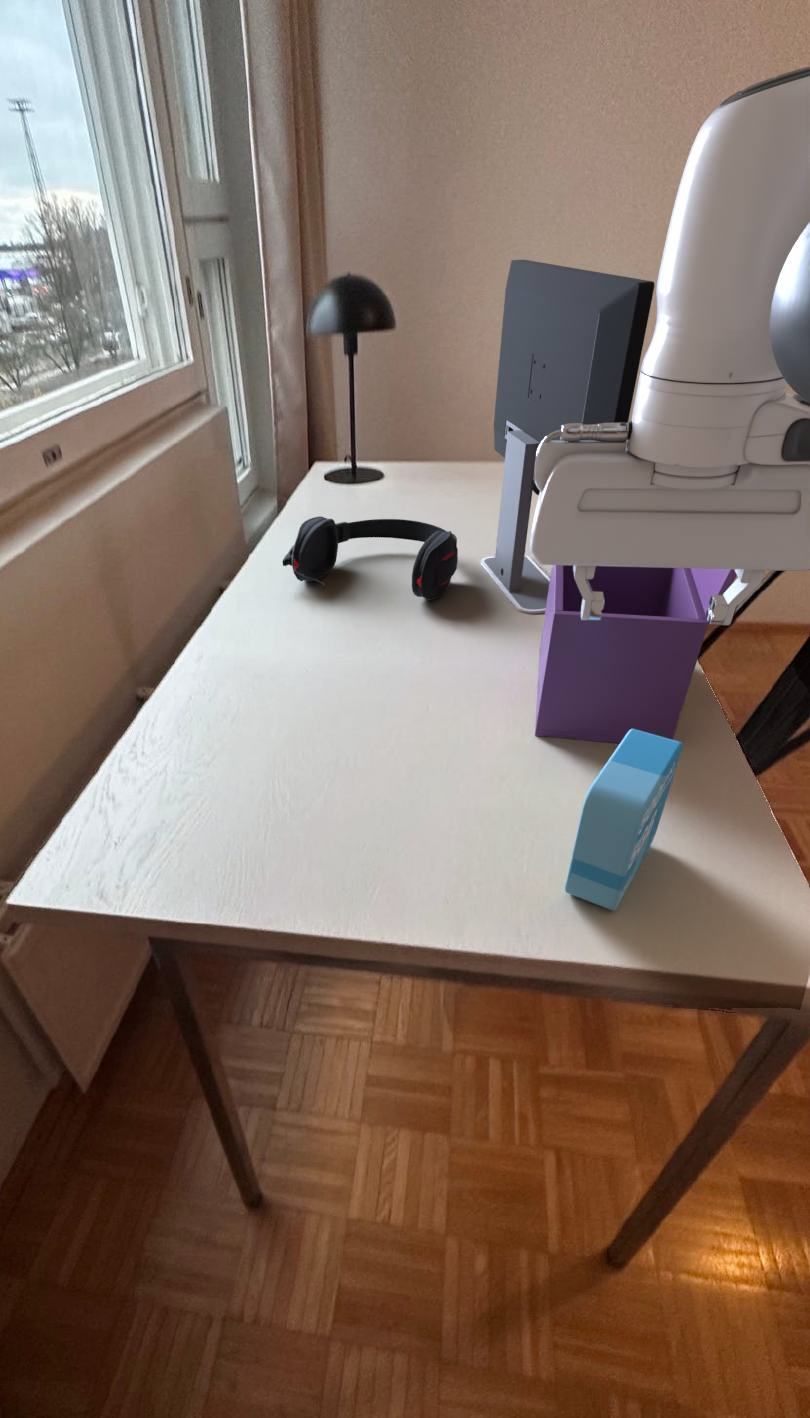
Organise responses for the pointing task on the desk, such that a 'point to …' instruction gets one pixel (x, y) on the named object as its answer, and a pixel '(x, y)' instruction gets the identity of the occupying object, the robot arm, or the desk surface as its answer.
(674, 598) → the file box
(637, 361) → the computer monitor
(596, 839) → the light blue rounded block
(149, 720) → the desk surface
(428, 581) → the headset
